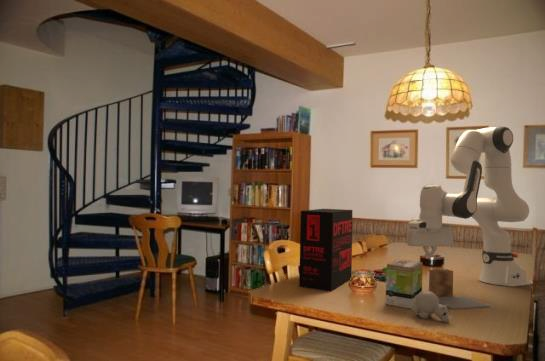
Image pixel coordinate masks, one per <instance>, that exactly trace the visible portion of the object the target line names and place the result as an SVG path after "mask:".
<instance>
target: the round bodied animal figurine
mask: <svg viewBox="0 0 545 361" xmlns="http://www.w3.org/2000/svg"><path fill="white" fill-rule="evenodd" d="M410 310H411V312H412V313H415V314H418V315H419V317H420V318H421V319H423V320H427V319H428V318H431V317H432V316H433V314H434V316H435V317H438V318H439V319H440V320H441V322H443V323H449V321H450V320H451V319H452V318H453V314H448V313H449V308H448V305H441V304H439V299H438V297H437V296H436V295H435V294H434V293H433V292H430V291H429V290H422V292H420V293H419V294H418V295H417V297H416V302H415V304H414V305H413V306H412V308H410Z"/></svg>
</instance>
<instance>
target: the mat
mask: <svg viewBox="0 0 545 361" xmlns="http://www.w3.org/2000/svg"><path fill="white" fill-rule="evenodd" d="M438 299H439V304H441V305H448V307H447V309H450V310H461V309H463V310H464V309H478V308H491V305H489V304H486V303H484V302H481V301H479V300H476V299H473V298H471V297H468V296H466V295H453V296H447V297H438Z"/></svg>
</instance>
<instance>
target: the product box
mask: <svg viewBox="0 0 545 361" xmlns="http://www.w3.org/2000/svg"><path fill="white" fill-rule="evenodd" d="M299 232H300V233H299V236H300V237H299V239H300V240H299V284H298V287H299V288H304V289H311V290H318V291H319V290H320V291H325V292H333V291H334V290H336V289H338V288H340V287H341V286H343V285H344V284H346V283H348V282H349V281H351V280H350V278H351V279H352V270H353V269H352V266H353V264H352V263H353V262H352V261H353V260H352V256H353V209H338V208H336V209H335V208H316V209H307V210H306V209H305V210H300V230H299Z"/></svg>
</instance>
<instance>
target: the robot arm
mask: <svg viewBox="0 0 545 361" xmlns="http://www.w3.org/2000/svg"><path fill="white" fill-rule="evenodd" d="M513 142H514V135H513V131H512V130H511V129H510V128H509V127H507V126H494V127H492V126H491V127H484V128H480V129H476V130H474V129H468V130H466V131H464V132H463V133H462V135H461V136H460V137H459V139H458V140H457V142H456V144H455V146H454V149H453V151H452V152H451V157H450V163H451V166H452V167H453V168H454V169H455V170H456V171H458V172H460V173H461V174H464V175H466V177H465V181H464V186H463V190H462V191H461V192H459V193H448V192H447V191H445V190H444V189H442V186H441V185H440V184H428V185H427V184H426V185H424V186H423V187H422V188H421V191H420V195H419V208H420V212H419V216H418V217H419V218H417V219H415V220H414V219H413V220H412V221H409V222H408V223H407V225H408V227H409V228H408V229H407V231H406V238H405V239H406V244H407V246H410V247H422V249H423V251H424V253H425V257H426V258H434V257H435V253H436V251H437V250H438V247H453V245H454V233H453V227H452V225H451V224H449V223H443V217H454V218H460V219H465V220H467V219H470V218H472V219H473V220H475V222H476V223H477V224H478V225H479V227H480V229H481V233H482V239H483V240H482V241H483V242H482V243H483V244H482V245H483V249H482V252H481V253H482V256H481V258H482V264H481V266H482V267H481V272H480V276H479V279H478V280H479V281H480V282H483V283H485V284H486V283H487V284H491V285H498V286H505V287H522V286H529V285H533V284H534V282H533V281H532V280H530V279H528V277H527V272H526V270H525V268H524V267H522V266H521V265H520V264H519V263H517V262H516V261H515V258H516V259H517V258H519V257H520V255H519V254H518V253H517V252H516V253H515V252H511V251H512V250H511V248H512V245H511V243H512V241H511V240H512V239H511V236H510V234H509V232H508V231H506V230H505V229H502V228H501V227H500V225H499V222H502V223H504V222H505V223H518V222H524V221H525V220H526V219H527V218H528V217H529V214H530V207H529V205H528V203H527V201H525V200H524V199H523V198H521V197H520V196H519V195H518V194H517V192H516V191H515V188H514V187H513V186H514V184H513V181H512V180H513V179H512V178H513V177H512V158H511V157H512V156H511V152H510V148H511V147H512V144H514V143H513ZM483 153H484V154H485V157H484V166H482V164H481V163H480V162H479V161H480V158H481V155H482V154H483ZM483 168H484V169H483ZM483 172H484V173H483ZM482 174H484V175H483V179H484V180H483V183H484V185H485V187H487V188H488V189H489V190H492V191H493V192H494V193H495V194H496V197H491V196H490V197H489V196H488V197H484V196H483V197H479V196H478V194H479V190H480V185H481V179H482ZM430 249H431V250H430ZM429 250H430V251H429Z"/></svg>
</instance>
